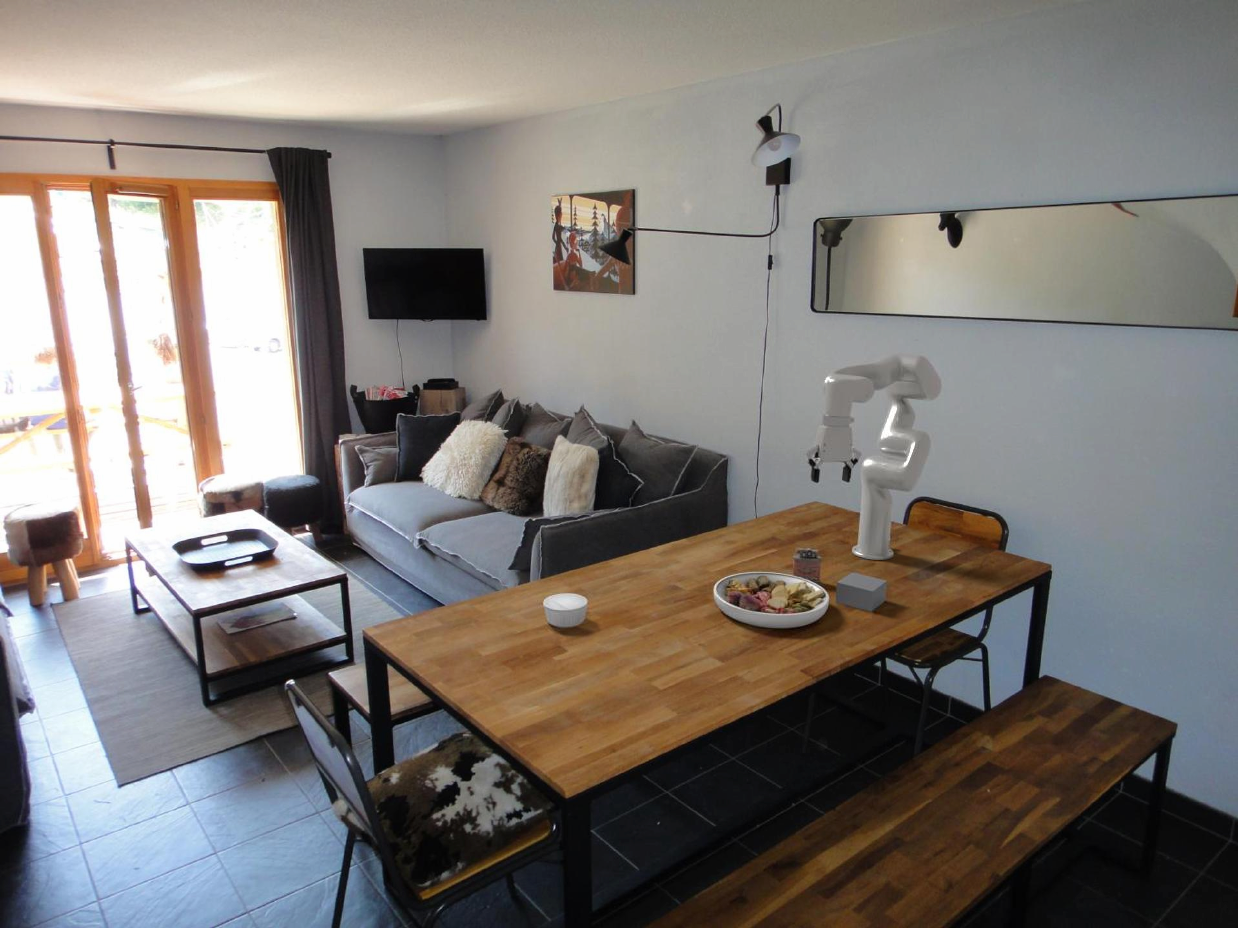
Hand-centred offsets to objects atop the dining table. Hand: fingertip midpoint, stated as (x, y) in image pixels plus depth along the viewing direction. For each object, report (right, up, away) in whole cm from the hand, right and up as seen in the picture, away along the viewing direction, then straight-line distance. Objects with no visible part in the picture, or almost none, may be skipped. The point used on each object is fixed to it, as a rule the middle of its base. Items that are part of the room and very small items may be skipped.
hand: (830, 481), depth 238 cm
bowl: (-20, -34, -14) cm, 42 cm away
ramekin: (-73, -35, -24) cm, 85 cm away
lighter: (-6, -29, +5) cm, 30 cm away
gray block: (+6, -33, -9) cm, 34 cm away
